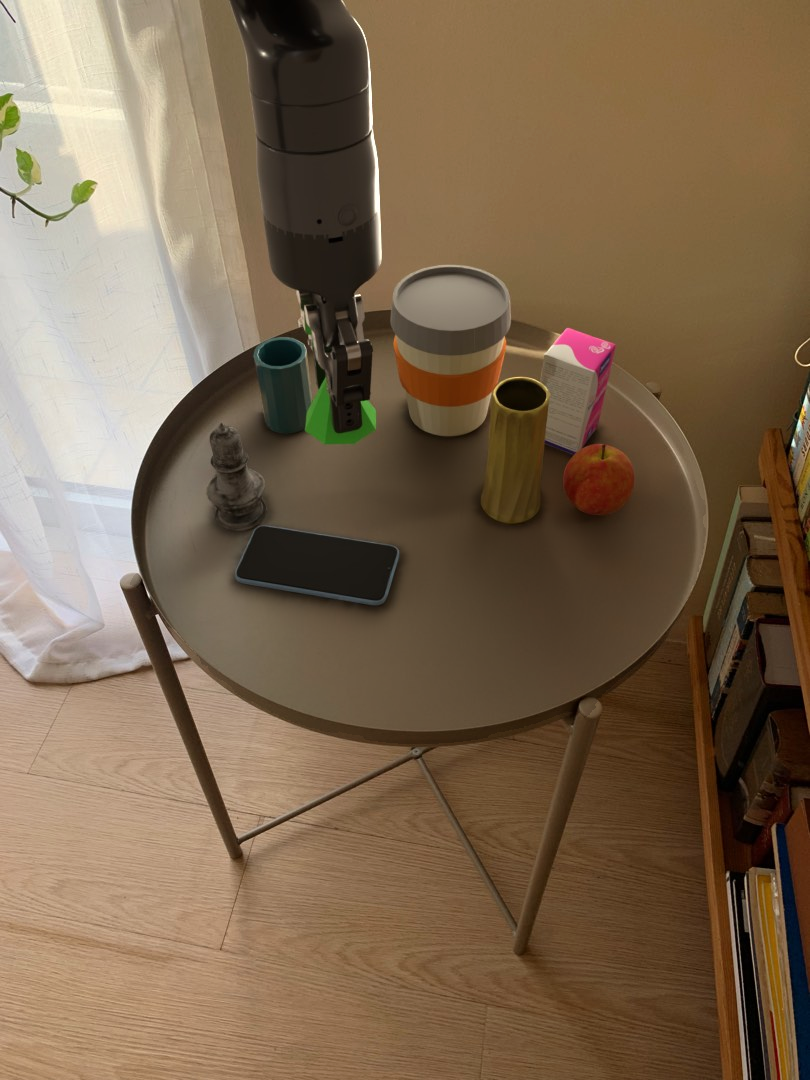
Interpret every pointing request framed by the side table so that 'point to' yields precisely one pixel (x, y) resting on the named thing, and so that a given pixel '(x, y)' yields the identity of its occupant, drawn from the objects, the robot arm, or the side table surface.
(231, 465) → the chess piece
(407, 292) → the reusable coffee cup
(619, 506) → the fruit
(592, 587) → the side table surface
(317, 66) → the robot arm
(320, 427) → the gemstone
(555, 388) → the supplement box
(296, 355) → the teal cup
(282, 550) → the smartphone
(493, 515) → the vase
